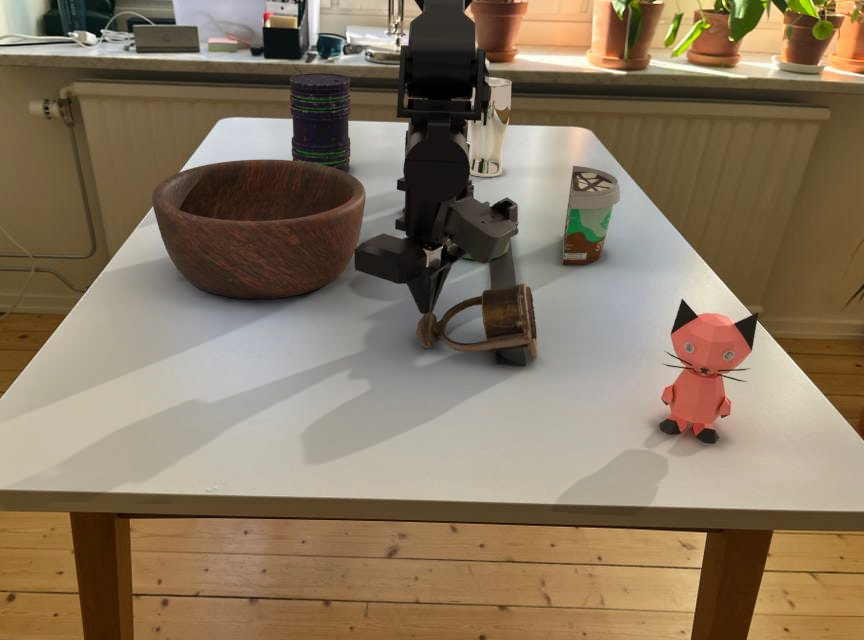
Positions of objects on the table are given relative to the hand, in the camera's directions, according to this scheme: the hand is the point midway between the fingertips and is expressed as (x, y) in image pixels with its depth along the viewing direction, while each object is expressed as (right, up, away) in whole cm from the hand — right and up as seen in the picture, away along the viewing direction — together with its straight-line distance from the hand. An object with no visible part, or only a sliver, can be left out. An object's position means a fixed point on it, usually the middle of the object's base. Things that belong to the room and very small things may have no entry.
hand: (426, 313), depth 88 cm
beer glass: (+13, +27, +52) cm, 60 cm away
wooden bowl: (-19, +6, +14) cm, 25 cm away
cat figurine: (+23, -11, -15) cm, 29 cm away
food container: (+22, +9, +21) cm, 32 cm away
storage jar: (-15, +27, +51) cm, 60 cm away
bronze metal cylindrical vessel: (+5, -4, -2) cm, 7 cm away
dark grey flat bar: (+10, +4, +11) cm, 15 cm away
